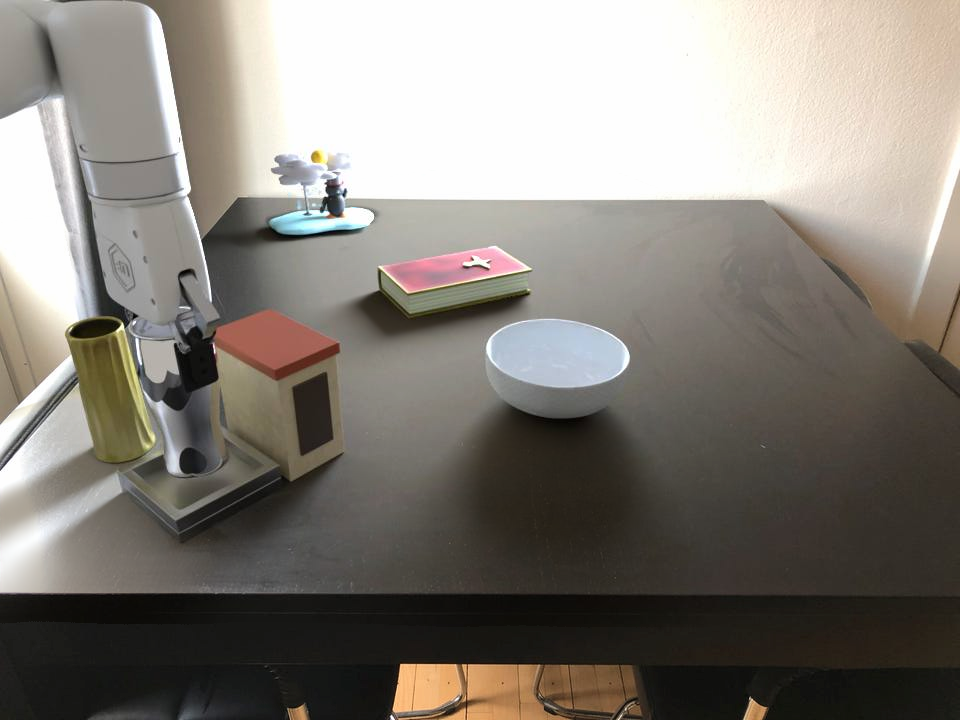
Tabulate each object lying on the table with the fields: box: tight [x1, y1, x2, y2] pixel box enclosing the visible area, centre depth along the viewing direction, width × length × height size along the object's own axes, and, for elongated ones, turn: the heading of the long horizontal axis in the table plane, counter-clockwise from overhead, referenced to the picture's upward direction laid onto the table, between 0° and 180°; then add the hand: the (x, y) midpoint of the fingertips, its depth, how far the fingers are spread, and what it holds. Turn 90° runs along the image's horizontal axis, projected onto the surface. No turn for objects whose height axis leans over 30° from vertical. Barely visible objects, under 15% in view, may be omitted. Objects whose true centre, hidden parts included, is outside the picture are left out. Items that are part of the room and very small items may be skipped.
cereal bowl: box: [484, 318, 631, 420], centre depth 87 cm, size 17×17×7 cm
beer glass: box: [127, 305, 230, 480], centre depth 68 cm, size 7×7×15 cm
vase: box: [64, 315, 156, 464], centre depth 76 cm, size 6×6×14 cm
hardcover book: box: [377, 245, 533, 319], centre depth 116 cm, size 12×21×4 cm, turn 118°
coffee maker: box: [116, 308, 346, 544], centre depth 73 cm, size 19×12×13 cm, turn 139°
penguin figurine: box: [268, 149, 375, 236], centre depth 139 cm, size 20×11×15 cm, turn 108°
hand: (177, 369), depth 67 cm, fingers closed on beer glass, 7 cm apart
